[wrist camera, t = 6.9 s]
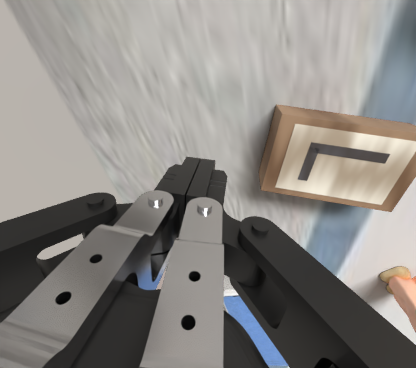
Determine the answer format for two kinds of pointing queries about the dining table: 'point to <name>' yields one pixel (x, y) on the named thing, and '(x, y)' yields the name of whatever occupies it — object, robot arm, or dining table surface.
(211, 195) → the robot arm
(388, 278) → the grandmother figurine
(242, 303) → the tablet computer
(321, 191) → the marked cardboard box
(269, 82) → the dining table surface
